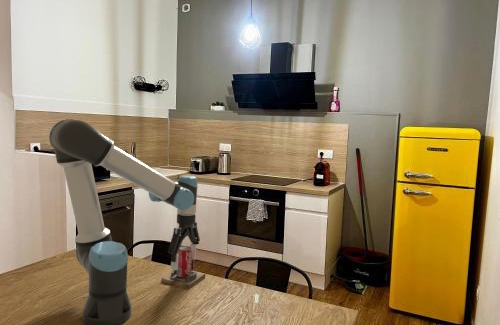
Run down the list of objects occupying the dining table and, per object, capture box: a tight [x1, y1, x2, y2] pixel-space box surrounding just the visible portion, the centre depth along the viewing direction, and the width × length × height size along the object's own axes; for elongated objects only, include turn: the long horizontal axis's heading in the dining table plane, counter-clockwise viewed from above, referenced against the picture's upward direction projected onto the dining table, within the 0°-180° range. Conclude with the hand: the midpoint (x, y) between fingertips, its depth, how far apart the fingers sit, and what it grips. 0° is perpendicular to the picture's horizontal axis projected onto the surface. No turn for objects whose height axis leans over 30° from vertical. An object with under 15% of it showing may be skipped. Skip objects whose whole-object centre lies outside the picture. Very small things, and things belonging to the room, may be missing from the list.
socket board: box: [161, 269, 206, 290], centre depth 154 cm, size 13×13×3 cm
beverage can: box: [176, 245, 193, 278], centre depth 153 cm, size 6×6×12 cm
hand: (183, 263), depth 153 cm, fingers open, 13 cm apart
